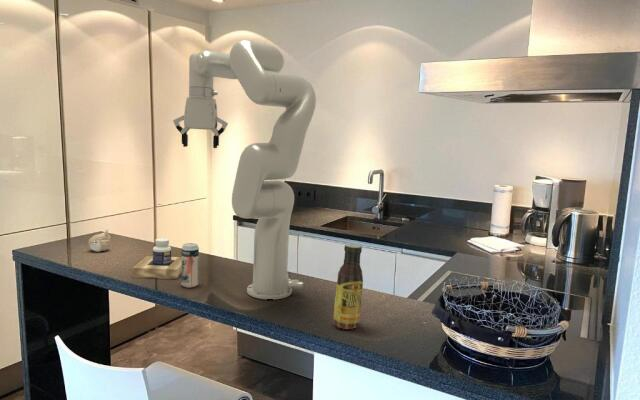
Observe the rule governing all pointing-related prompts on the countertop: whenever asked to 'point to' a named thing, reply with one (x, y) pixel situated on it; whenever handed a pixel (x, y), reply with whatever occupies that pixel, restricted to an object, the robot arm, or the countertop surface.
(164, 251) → the pill bottle
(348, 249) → the sauce bottle
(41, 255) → the countertop surface
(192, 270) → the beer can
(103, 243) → the garlic bulb
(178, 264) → the socket block
